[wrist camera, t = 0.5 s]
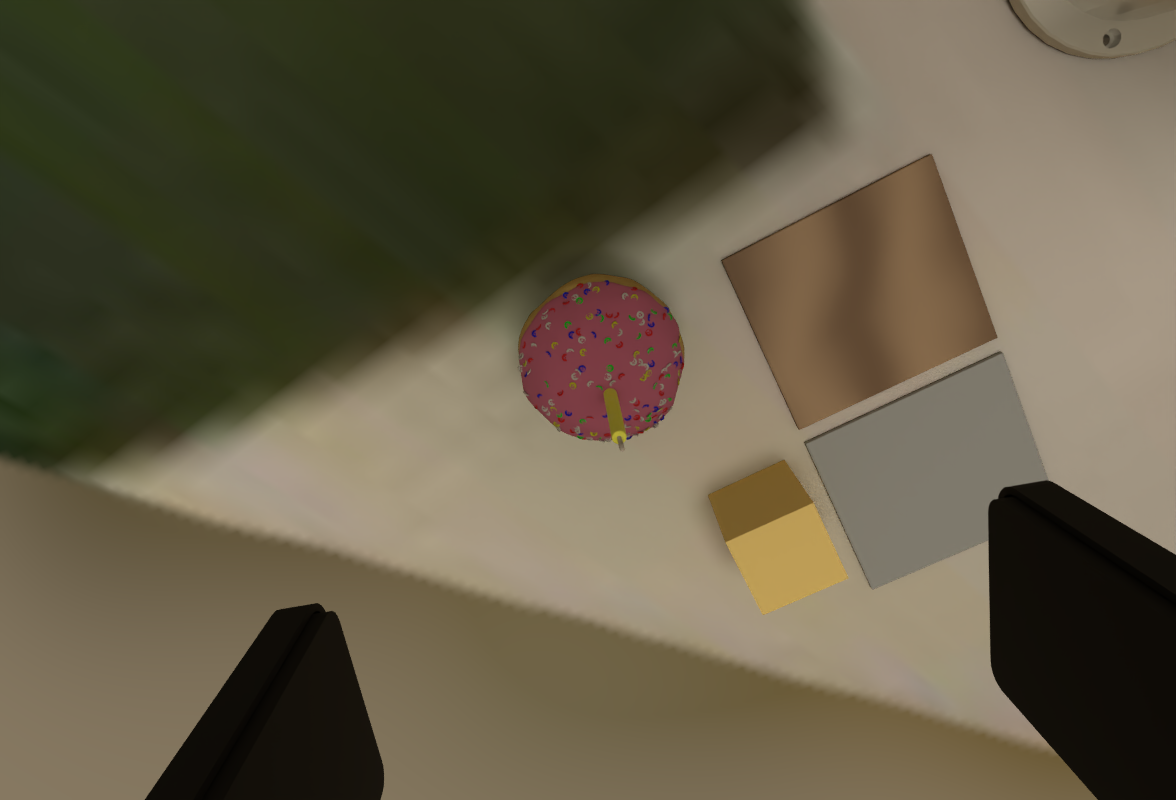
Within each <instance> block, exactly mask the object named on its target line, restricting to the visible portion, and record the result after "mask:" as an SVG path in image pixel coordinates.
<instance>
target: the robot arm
mask: <svg viewBox="0 0 1176 800" xmlns="http://www.w3.org/2000/svg"><path fill="white" fill-rule="evenodd" d="M1009 1H1010V3H1011V5H1012V7H1013V9H1014V11H1015V13H1016V14H1017V15H1018V16H1019V18H1020V19H1021V20H1022V21H1023V23H1024V24H1025V25H1026V27H1027V28H1028V29H1029V30H1030V31H1031V32H1033V33H1034V34H1035V35H1036V36H1038V37H1039V38H1040V39H1041V40H1043V41H1044V42H1045V43H1046V44H1048V45H1050V46H1052V47H1054V48H1056V49H1059V50H1061V51H1063V52H1065V53H1067V54H1071V55H1076V56H1080V57H1085V58H1090V59H1102V58H1118V57H1124V56H1129V55H1135V54H1139V53H1143V52H1146V51H1149V50H1152V49H1156V48H1159V47H1162V46H1164V45H1166V44H1168V43H1170V42H1172V41H1174V40H1176V0H1009ZM1103 39H1104V43H1103ZM988 539H989V596H990V653H991V667H992V671H993V675H994V677H995V680H996V682H997V684H998V685H999V687H1000V688H1001V690H1002V691H1003V692H1004V694H1005V695H1006V696H1007V697H1008V698H1009V699H1010V700H1011V702H1012V703H1013V704H1014V705H1015V706H1016V707H1017V708H1018V709H1019V711H1020V712H1021V713H1022V714H1023V715H1024V716H1025V717H1026V719H1027V720H1028V721H1029V722H1030V723H1031V724H1032V725H1033V727H1034V728H1035V729H1036V730H1037V731H1038V732H1039V733H1040V734H1041V736H1042V737H1043V738H1044V739H1045V740H1046V741H1047V742H1048V744H1049V745H1050V746H1051V747H1052V748H1053V749H1054V750H1055V752H1056V753H1057V754H1058V755H1059V756H1060V757H1061V758H1062V759H1063V761H1064V762H1065V763H1066V764H1067V765H1068V766H1069V767H1070V768H1071V770H1072V771H1073V772H1074V773H1075V774H1076V775H1077V776H1078V778H1079V779H1080V780H1081V781H1082V782H1083V783H1084V784H1085V786H1086V787H1087V788H1088V789H1089V790H1090V791H1091V792H1092V794H1093V795H1094V796H1095V797H1096V798H1097V799H1098V800H1176V555H1175V554H1173V553H1172V552H1170V551H1168V550H1167V549H1165V548H1163V547H1162V546H1160V545H1158V544H1156V543H1155V542H1153V541H1151V540H1150V539H1148V538H1146V537H1145V536H1143V535H1141V534H1140V533H1138V532H1136V531H1134V530H1133V529H1131V528H1129V527H1128V526H1126V525H1124V524H1123V523H1121V522H1119V521H1118V520H1116V519H1114V518H1113V517H1111V516H1109V515H1107V514H1106V513H1104V512H1102V511H1101V510H1099V509H1097V508H1096V507H1094V506H1092V505H1091V504H1089V503H1087V502H1086V501H1084V500H1082V499H1080V498H1079V497H1077V496H1075V495H1074V494H1072V493H1070V492H1069V491H1067V490H1065V489H1064V488H1062V487H1060V486H1058V485H1057V484H1055V483H1053V482H1051V481H1048V480H1045V481H1038V482H1033V483H1027V484H1021V485H1015V486H1009V487H1004V488H1003V489H1002V490H1001V491H1000V493H999V496H998V499H994V500H992V501H991V502H990V504H989V507H988ZM383 787H384V769H383V764H382V760H381V756H380V753H379V750H378V747H377V743H376V740H375V737H374V733H373V730H372V727H371V723H370V720H369V717H368V713H367V710H366V707H365V704H364V700H363V697H362V693H361V690H360V687H359V684H358V681H357V677H356V674H355V670H354V667H353V664H352V660H351V657H350V654H349V650H348V647H347V644H346V641H345V637H344V634H343V631H342V627H341V624H340V621H339V619H338V616H337V615H336V613H335V612H333V611H329V612H325V610H324V608H323V607H322V606H321V605H320V604H318V603H315V604H310V605H304V606H298V607H292V608H286V609H281V610H276V611H275V612H274V614H273V615H272V616H271V617H270V619H269V620H268V622H267V623H266V625H265V626H264V628H263V629H262V631H261V632H260V633H259V635H258V636H257V638H256V639H255V641H254V642H253V644H252V645H251V646H250V648H249V649H248V651H247V652H246V654H245V655H244V657H243V658H242V660H241V661H240V662H239V664H238V665H237V667H236V668H235V670H234V671H233V673H232V674H231V675H230V677H229V679H228V680H227V681H226V683H225V684H224V686H223V687H222V688H221V690H220V691H219V693H218V695H217V696H216V697H215V699H214V700H213V702H212V703H211V704H210V706H209V707H208V709H207V710H206V712H205V713H204V715H203V716H202V718H201V719H200V721H199V722H198V723H197V725H196V726H195V728H194V729H193V731H192V732H191V733H190V735H189V737H188V738H187V739H186V741H185V742H184V744H183V745H182V747H181V748H180V749H179V751H178V752H177V754H176V755H175V757H174V758H173V760H172V761H171V762H170V764H169V765H168V767H167V768H166V770H165V771H164V773H163V774H162V776H161V777H160V778H159V780H158V781H157V783H156V784H155V786H154V787H153V789H152V790H151V792H150V793H149V794H148V796H147V797H146V799H145V800H380V799H381V795H382V792H383Z"/></svg>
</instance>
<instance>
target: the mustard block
mask: <svg viewBox="0 0 1176 800" xmlns="http://www.w3.org/2000/svg"><path fill="white" fill-rule="evenodd" d="M708 496H709V499H710V502H711V504H712V507H713V510H714V513H715V515H716V518H717V521H718V523H719V526H720V529H721V532H722V534H723V537H724V540H725V542H726V544H727V546H728V548H729V550H730V552H731V554H732V556H733V558H734V560H735V562H736V564H737V566H738V568H739V570H740V571H741V573H742V575H743V577H744V579H745V581H746V583H747V585H748V587H749V589H750V591H751V593H752V595H753V597H754V599H755V601H756V603H757V605H758V606H759V608H760V610H761V612H762V614H763V615H764V614H767V613H769V612H771V611H774V610H776V609H778V608H781V607H783V606H785V605H788V604H790V603H792V602H795V601H797V600H799V599H801V598H804V597H806V596H808V595H811V594H813V593H815V592H818V591H820V590H822V589H825V588H827V587H829V586H832V585H834V584H836V583H839V582H841V581H843V580H845V579H848V576H847V574H846V572H845V569H844V567H843V565H842V563H841V561H840V559H839V557H838V554H837V552H836V550H835V548H834V546H833V544H832V542H831V539H830V537H829V535H828V533H827V531H826V529H825V527H824V524H823V522H822V520H821V518H820V516H819V514H818V512H817V509H816V507H815V505H814V503H813V501H812V500H811V499H810V497H809V496H808V494H807V493H806V491H805V490H804V488H803V487H802V485H801V484H800V482H799V481H798V479H797V478H796V476H795V475H794V474H793V472H792V471H791V469H790V468H789V466H788V465H787V463H786V462H785V460H783V461H780V462H778V463H776V464H774V465H772V466H770V467H767V468H765V469H763V470H761V471H759V472H757V473H754V474H752V475H750V476H748V477H746V478H744V479H741V480H739V481H737V482H735V483H733V484H731V485H728V486H726V487H724V488H722V489H720V490H718V491H715V492H713V493H711V494H709V495H708Z"/></svg>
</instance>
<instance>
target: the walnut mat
mask: <svg viewBox="0 0 1176 800" xmlns="http://www.w3.org/2000/svg"><path fill="white" fill-rule="evenodd" d="M721 261H722V263H723V265H724V268H725V270H726V272H727V274H728V276H729V279H730V281H731V283H732V285H733V287H734V289H735V292H736V294H737V296H738V298H739V300H740V303H741V305H742V307H743V309H744V311H745V313H746V316H747V318H748V320H749V322H750V324H751V327H752V329H753V331H754V333H755V335H756V338H757V340H758V342H759V344H760V346H761V348H762V351H763V353H764V355H765V357H766V359H767V362H768V364H769V366H770V368H771V370H772V372H773V375H774V377H775V379H776V381H777V383H778V386H779V388H780V390H781V392H782V394H783V396H784V399H785V401H786V403H787V405H788V407H789V410H790V412H791V414H792V416H793V418H794V421H795V423H796V425H797V427H798V429H799V430H800V429H802V428H805V427H807V426H809V425H811V424H813V423H815V422H817V421H820V420H822V419H824V418H826V417H828V416H830V415H832V414H835V413H837V412H839V411H841V410H843V409H845V408H847V407H850V406H852V405H854V404H856V403H858V402H860V401H862V400H865V399H867V398H869V397H871V396H873V395H875V394H877V393H880V392H882V391H884V390H886V389H888V388H890V387H892V386H895V385H897V384H899V383H901V382H903V381H905V380H907V379H910V378H912V377H914V376H916V375H918V374H920V373H922V372H925V371H927V370H929V369H931V368H933V367H935V366H937V365H940V364H942V363H944V362H946V361H948V360H950V359H952V358H955V357H957V356H959V355H961V354H963V353H965V352H968V351H970V350H972V349H974V348H976V347H978V346H980V345H983V344H985V343H987V342H989V341H991V340H993V339H995V338H997V335H996V332H995V329H994V327H993V324H992V321H991V318H990V315H989V313H988V310H987V307H986V304H985V301H984V299H983V296H982V293H981V290H980V287H979V285H978V282H977V279H976V276H975V273H974V271H973V268H972V265H971V262H970V259H969V257H968V254H967V251H966V248H965V245H964V243H963V240H962V237H961V234H960V231H959V229H958V226H957V223H956V220H955V218H954V215H953V212H952V209H951V206H950V204H949V201H948V198H947V195H946V192H945V190H944V187H943V184H942V181H941V178H940V176H939V173H938V170H937V167H936V164H935V162H934V159H933V156H932V154H929V155H927V156H925V157H923V158H921V159H919V160H917V161H915V162H913V163H911V164H910V165H908V166H906V167H904V168H902V169H900V170H898V171H896V172H894V173H892V174H890V175H888V176H886V177H884V178H882V179H880V180H878V181H876V182H874V183H872V184H870V185H868V186H866V187H864V188H862V189H860V190H858V191H856V192H855V193H853V194H851V195H849V196H847V197H845V198H843V199H841V200H839V201H837V202H835V203H833V204H831V205H829V206H827V207H825V208H823V209H821V210H819V211H817V212H815V213H813V214H811V215H809V216H807V217H805V218H803V219H801V220H800V221H798V222H796V223H794V224H792V225H790V226H788V227H786V228H784V229H782V230H780V231H778V232H776V233H774V234H772V235H770V236H768V237H766V238H764V239H762V240H760V241H758V242H756V243H754V244H752V245H750V246H748V247H746V248H745V249H743V250H741V251H739V252H737V253H735V254H733V255H731V256H729V257H727V258H725V259H723V260H721Z"/></svg>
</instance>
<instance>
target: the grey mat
mask: <svg viewBox="0 0 1176 800" xmlns="http://www.w3.org/2000/svg"><path fill="white" fill-rule="evenodd" d="M805 445H806V447H807V449H808V451H809V453H810V455H811V458H812V460H813V462H814V464H815V466H816V469H817V471H818V473H819V475H820V477H821V479H822V482H823V484H824V486H825V488H826V490H827V493H828V495H829V497H830V499H831V501H832V503H833V506H834V508H835V510H836V512H837V514H838V517H839V519H840V521H841V523H842V525H843V528H844V530H845V532H846V534H847V536H848V538H849V541H850V543H851V545H852V547H853V549H854V552H855V554H856V556H857V558H858V560H859V562H860V565H861V567H862V569H863V571H864V573H865V576H866V578H867V580H868V582H869V584H870V586H871V588H872V590H873V589H875V588H878V587H880V586H882V585H885V584H887V583H889V582H892V581H894V580H897V579H899V578H901V577H904V576H906V575H908V574H911V573H913V572H915V571H918V570H920V569H922V568H925V567H927V566H929V565H932V564H934V563H936V562H939V561H941V560H943V559H946V558H948V557H950V556H953V555H955V554H957V553H960V552H962V551H964V550H967V549H969V548H971V547H974V546H976V545H978V544H981V543H983V542H985V541H988V540H989V539H988V507H989V504H990V502H991V501H992V500H994V499H998V496H999V493H1000V491H1001V490H1002V489H1003V488H1004V487H1009V486H1015V485H1021V484H1027V483H1033V482H1038V481H1045V480H1048V477H1047V475H1046V472H1045V469H1044V466H1043V463H1042V461H1041V458H1040V455H1039V452H1038V449H1037V447H1036V444H1035V441H1034V438H1033V436H1032V433H1031V430H1030V427H1029V424H1028V422H1027V419H1026V416H1025V413H1024V410H1023V408H1022V405H1021V402H1020V399H1019V396H1018V394H1017V391H1016V388H1015V385H1014V382H1013V380H1012V377H1011V374H1010V371H1009V368H1008V366H1007V363H1006V360H1005V357H1004V354H1003V353H1002V352H998V353H996V354H994V355H992V356H990V357H988V358H985V359H983V360H981V361H979V362H977V363H975V364H972V365H970V366H968V367H966V368H964V369H962V370H959V371H957V372H955V373H953V374H951V375H949V376H947V377H944V378H942V379H940V380H938V381H936V382H934V383H931V384H929V385H927V386H925V387H923V388H921V389H918V390H916V391H914V392H912V393H910V394H908V395H906V396H903V397H901V398H899V399H897V400H895V401H893V402H890V403H888V404H886V405H884V406H882V407H880V408H877V409H875V410H873V411H871V412H869V413H867V414H865V415H862V416H860V417H858V418H856V419H854V420H852V421H849V422H847V423H845V424H843V425H841V426H839V427H836V428H834V429H832V430H830V431H828V432H826V433H824V434H821V435H819V436H817V437H815V438H813V439H811V440H808V441H806V442H805ZM1048 481H1049V480H1048Z"/></svg>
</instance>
